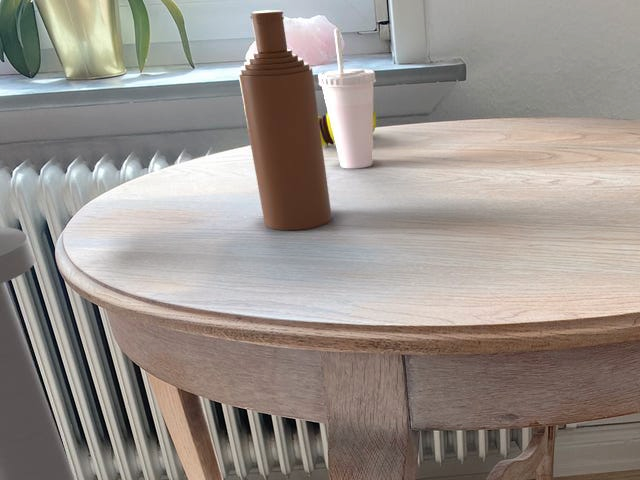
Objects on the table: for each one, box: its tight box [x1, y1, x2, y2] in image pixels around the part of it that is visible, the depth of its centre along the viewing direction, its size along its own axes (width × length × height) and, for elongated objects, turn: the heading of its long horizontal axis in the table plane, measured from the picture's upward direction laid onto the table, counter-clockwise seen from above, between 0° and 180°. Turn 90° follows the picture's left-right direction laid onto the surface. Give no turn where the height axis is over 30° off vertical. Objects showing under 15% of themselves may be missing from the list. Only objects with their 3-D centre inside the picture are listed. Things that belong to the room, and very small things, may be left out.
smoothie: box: [317, 28, 377, 169], centre depth 99 cm, size 6×6×14 cm
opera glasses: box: [318, 107, 377, 147], centre depth 114 cm, size 10×5×5 cm, turn 167°
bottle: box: [238, 9, 333, 231], centre depth 80 cm, size 6×6×18 cm
